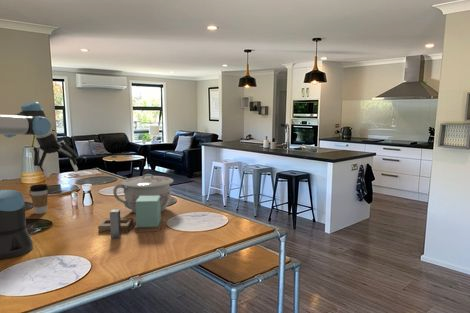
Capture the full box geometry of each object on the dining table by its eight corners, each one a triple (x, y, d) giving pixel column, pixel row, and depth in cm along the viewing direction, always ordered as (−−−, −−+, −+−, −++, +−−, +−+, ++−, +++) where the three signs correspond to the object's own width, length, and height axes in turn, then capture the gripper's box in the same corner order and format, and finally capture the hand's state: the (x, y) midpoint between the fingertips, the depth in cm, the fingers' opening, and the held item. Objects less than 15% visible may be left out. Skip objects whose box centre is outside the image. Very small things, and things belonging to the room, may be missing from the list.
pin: (119, 238, 144) (117, 211, 142) (111, 239, 143) (109, 211, 142) (121, 235, 147) (120, 209, 145) (113, 236, 147) (111, 209, 145)
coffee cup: (41, 215, 175) (39, 187, 173) (27, 214, 177) (25, 186, 175) (53, 210, 183) (51, 183, 181) (40, 209, 185) (37, 182, 183)
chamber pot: (182, 206, 193) (181, 170, 190) (159, 221, 166) (158, 180, 164) (139, 202, 200) (138, 168, 197) (110, 216, 174) (108, 177, 171)
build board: (128, 231, 152) (127, 225, 152) (98, 232, 151) (98, 226, 151) (133, 223, 163) (133, 217, 162) (106, 224, 162) (105, 218, 161)
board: (159, 231, 153) (158, 209, 152) (134, 231, 152) (133, 210, 151) (162, 223, 164) (162, 203, 162) (139, 223, 163) (139, 203, 162)
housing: (157, 226, 153) (157, 201, 151) (136, 227, 152) (135, 201, 151) (160, 219, 163) (160, 195, 161) (140, 219, 162) (140, 195, 161)
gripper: (73, 126, 159) (89, 164, 169) (20, 136, 157) (40, 174, 168) (69, 132, 152) (86, 171, 162) (13, 143, 151) (34, 182, 161)
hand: (62, 173), depth 165 cm, fingers open, 13 cm apart
